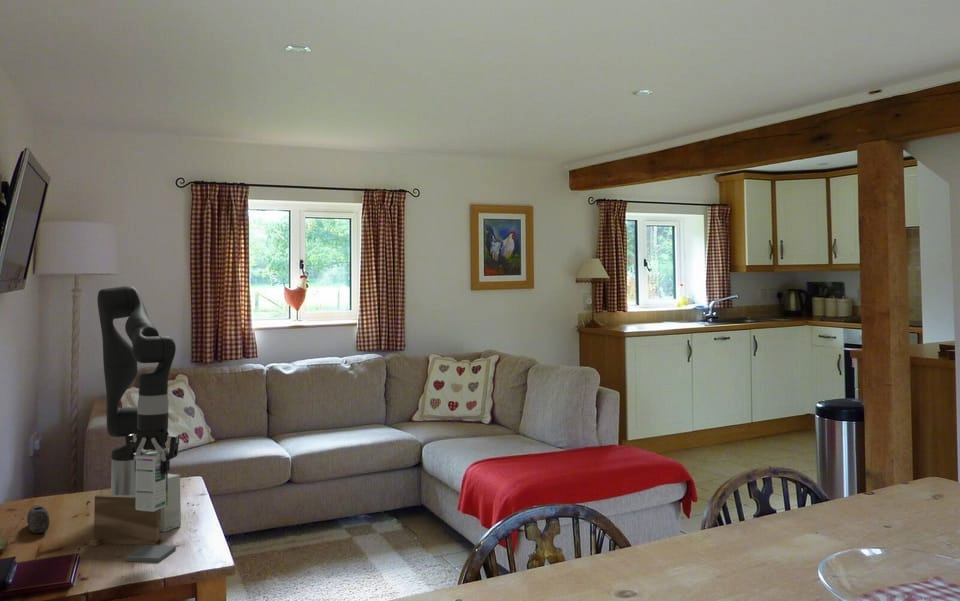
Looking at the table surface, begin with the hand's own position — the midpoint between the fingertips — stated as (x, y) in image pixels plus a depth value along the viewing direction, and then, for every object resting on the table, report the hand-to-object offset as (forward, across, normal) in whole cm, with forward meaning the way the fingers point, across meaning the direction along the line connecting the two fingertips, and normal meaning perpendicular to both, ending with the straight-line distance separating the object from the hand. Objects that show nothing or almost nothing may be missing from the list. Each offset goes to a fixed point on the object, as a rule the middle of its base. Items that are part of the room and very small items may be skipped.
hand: (152, 473), depth 188 cm
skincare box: (+22, +8, -22) cm, 32 cm away
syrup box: (+9, 0, 0) cm, 9 cm away
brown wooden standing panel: (+22, +11, -8) cm, 26 cm away
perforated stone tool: (+22, +44, -17) cm, 52 cm away
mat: (+22, 0, 0) cm, 22 cm away
